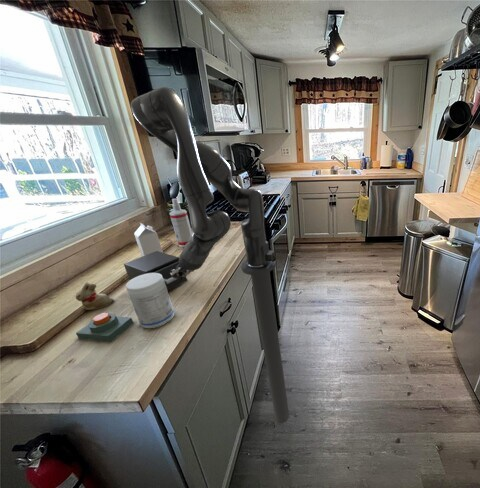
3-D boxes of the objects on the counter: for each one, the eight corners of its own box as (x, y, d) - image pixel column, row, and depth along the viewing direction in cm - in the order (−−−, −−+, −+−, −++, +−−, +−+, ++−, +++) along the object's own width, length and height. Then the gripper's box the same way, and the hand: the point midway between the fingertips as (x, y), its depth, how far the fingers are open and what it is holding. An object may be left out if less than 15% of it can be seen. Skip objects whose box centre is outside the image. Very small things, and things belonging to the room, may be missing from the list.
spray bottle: (178, 248, 136) (164, 201, 126) (179, 243, 142) (166, 198, 132) (194, 245, 138) (182, 199, 128) (194, 240, 145) (183, 196, 135)
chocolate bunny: (92, 301, 93) (81, 277, 89) (115, 300, 94) (104, 276, 90) (80, 311, 88) (67, 286, 84) (104, 309, 88) (93, 284, 84)
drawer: (194, 283, 101) (188, 263, 97) (166, 298, 92) (159, 277, 88) (166, 273, 109) (160, 254, 105) (138, 287, 100) (130, 266, 96)
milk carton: (148, 268, 116) (135, 228, 108) (144, 263, 120) (130, 224, 113) (166, 262, 120) (154, 223, 113) (161, 258, 125) (149, 220, 117)
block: (133, 323, 82) (129, 312, 80) (111, 341, 74) (106, 330, 73) (103, 320, 83) (98, 310, 82) (78, 338, 76) (72, 328, 74)
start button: (113, 317, 79) (111, 313, 78) (102, 325, 75) (100, 321, 75) (103, 316, 79) (100, 312, 78) (91, 324, 76) (89, 320, 75)
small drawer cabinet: (185, 280, 104) (179, 257, 100) (154, 297, 94) (145, 271, 90) (164, 273, 111) (156, 250, 107) (132, 287, 101) (123, 263, 97)
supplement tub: (139, 318, 83) (123, 279, 78) (171, 306, 89) (159, 268, 83) (143, 334, 77) (126, 293, 71) (178, 320, 82) (165, 280, 76)
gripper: (204, 238, 90) (190, 262, 100) (168, 253, 79) (156, 278, 90) (218, 254, 90) (202, 277, 100) (184, 271, 79) (170, 295, 89)
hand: (180, 277), depth 95 cm, fingers closed
